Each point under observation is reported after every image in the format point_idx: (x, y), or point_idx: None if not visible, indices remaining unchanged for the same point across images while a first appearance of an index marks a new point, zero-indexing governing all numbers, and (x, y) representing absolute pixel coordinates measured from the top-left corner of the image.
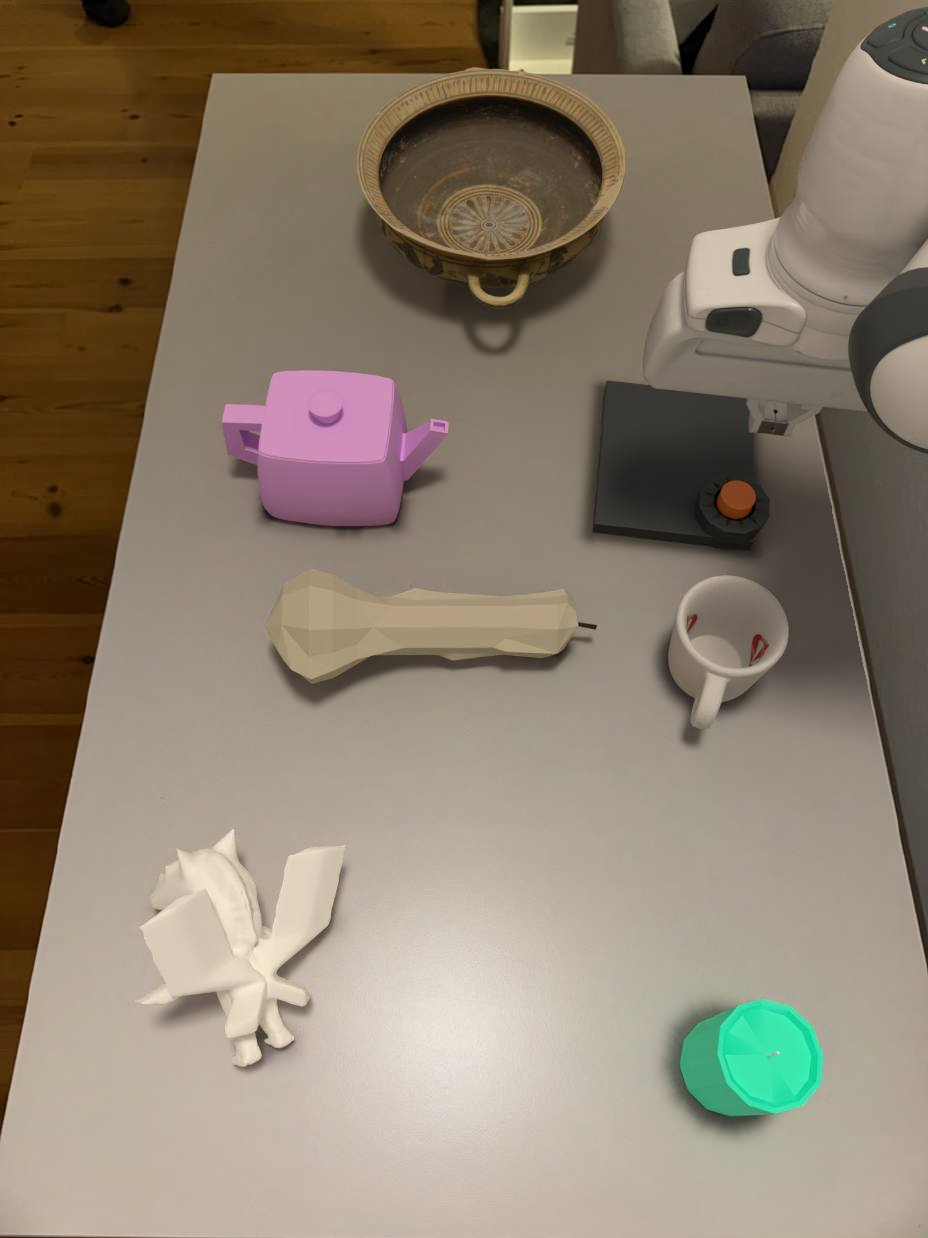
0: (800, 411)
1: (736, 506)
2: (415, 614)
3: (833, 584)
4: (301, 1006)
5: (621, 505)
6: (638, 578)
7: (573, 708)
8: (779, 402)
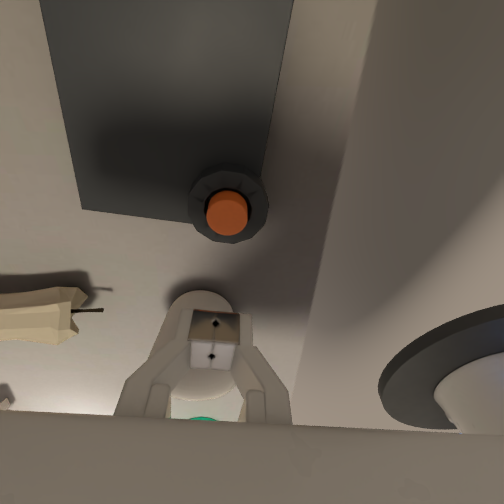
0: (245, 395)
1: (222, 232)
2: None
3: (317, 252)
4: None
5: (106, 188)
6: (144, 245)
7: (110, 326)
8: (221, 342)
